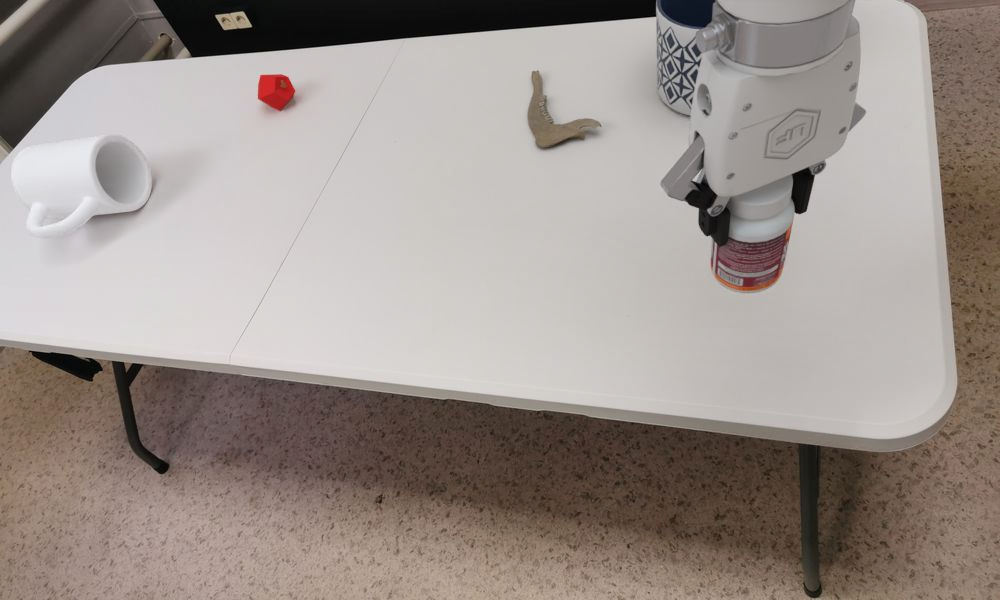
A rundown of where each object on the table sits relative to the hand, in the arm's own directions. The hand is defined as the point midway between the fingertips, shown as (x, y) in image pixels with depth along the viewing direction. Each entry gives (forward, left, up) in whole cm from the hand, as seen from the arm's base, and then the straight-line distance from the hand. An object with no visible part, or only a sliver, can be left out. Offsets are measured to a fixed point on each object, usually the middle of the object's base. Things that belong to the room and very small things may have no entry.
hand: (752, 217), depth 51 cm
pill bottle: (0, 0, -7) cm, 7 cm away
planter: (-20, -41, -22) cm, 50 cm away
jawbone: (+1, -49, -22) cm, 53 cm away
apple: (+46, -80, -22) cm, 95 cm away
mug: (+81, -67, -22) cm, 107 cm away
